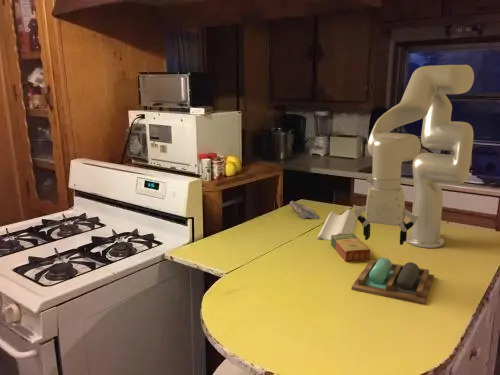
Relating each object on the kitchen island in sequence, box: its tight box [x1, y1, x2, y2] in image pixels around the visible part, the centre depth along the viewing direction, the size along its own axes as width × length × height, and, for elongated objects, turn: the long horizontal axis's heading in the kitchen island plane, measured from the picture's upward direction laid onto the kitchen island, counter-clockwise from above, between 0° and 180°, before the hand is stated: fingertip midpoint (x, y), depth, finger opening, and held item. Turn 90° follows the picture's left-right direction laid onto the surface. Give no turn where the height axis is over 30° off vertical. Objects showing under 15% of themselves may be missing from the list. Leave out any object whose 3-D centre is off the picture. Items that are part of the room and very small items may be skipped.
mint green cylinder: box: [369, 257, 393, 284], centre depth 124 cm, size 9×4×4 cm, turn 151°
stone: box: [289, 200, 320, 220], centre depth 189 cm, size 17×5×10 cm
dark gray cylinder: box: [397, 261, 420, 290], centre depth 121 cm, size 9×4×4 cm, turn 151°
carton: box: [330, 232, 371, 263], centre depth 146 cm, size 8×16×4 cm, turn 6°
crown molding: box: [316, 209, 358, 241], centre depth 171 cm, size 31×12×4 cm, turn 162°
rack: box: [351, 259, 435, 306], centre depth 123 cm, size 18×19×2 cm
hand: (384, 240), depth 124 cm, fingers open, 9 cm apart
